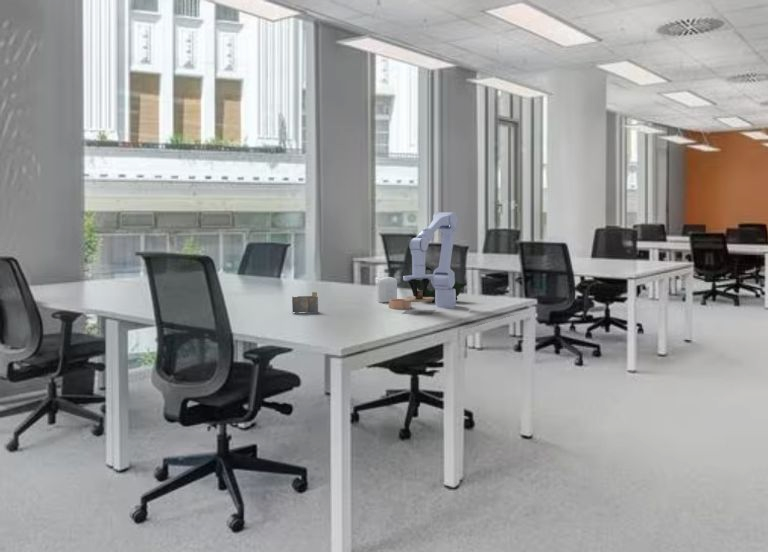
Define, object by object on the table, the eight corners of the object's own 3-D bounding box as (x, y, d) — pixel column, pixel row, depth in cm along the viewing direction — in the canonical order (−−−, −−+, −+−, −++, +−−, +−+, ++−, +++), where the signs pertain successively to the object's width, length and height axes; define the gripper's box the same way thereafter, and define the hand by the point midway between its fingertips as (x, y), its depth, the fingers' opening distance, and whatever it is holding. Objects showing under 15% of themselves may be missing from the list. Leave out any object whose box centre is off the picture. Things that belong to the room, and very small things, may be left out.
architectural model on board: (318, 312, 311) (317, 291, 310) (318, 313, 308) (317, 292, 307) (293, 313, 310) (292, 291, 309) (292, 314, 307) (292, 292, 306)
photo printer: (393, 300, 346) (393, 276, 345) (398, 301, 342) (398, 276, 341) (376, 302, 340) (376, 277, 339) (381, 303, 337) (380, 278, 335)
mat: (435, 311, 307) (435, 310, 307) (431, 315, 295) (431, 314, 295) (407, 310, 310) (407, 309, 310) (401, 315, 298) (401, 313, 297)
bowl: (412, 307, 320) (412, 299, 320) (408, 310, 311) (408, 301, 310) (391, 307, 322) (391, 298, 322) (387, 310, 313) (387, 301, 312)
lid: (434, 298, 306) (434, 289, 306) (430, 302, 295) (430, 292, 294) (408, 298, 309) (408, 288, 309) (403, 301, 297) (402, 292, 297)
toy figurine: (418, 306, 335) (469, 301, 335) (414, 268, 333) (465, 262, 333) (417, 304, 344) (466, 299, 344) (413, 266, 342) (463, 261, 342)
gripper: (429, 263, 307) (429, 294, 308) (399, 265, 301) (400, 296, 302) (436, 265, 301) (436, 295, 302) (406, 266, 295) (407, 298, 296)
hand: (419, 296), depth 302 cm, fingers closed on lid, 3 cm apart
